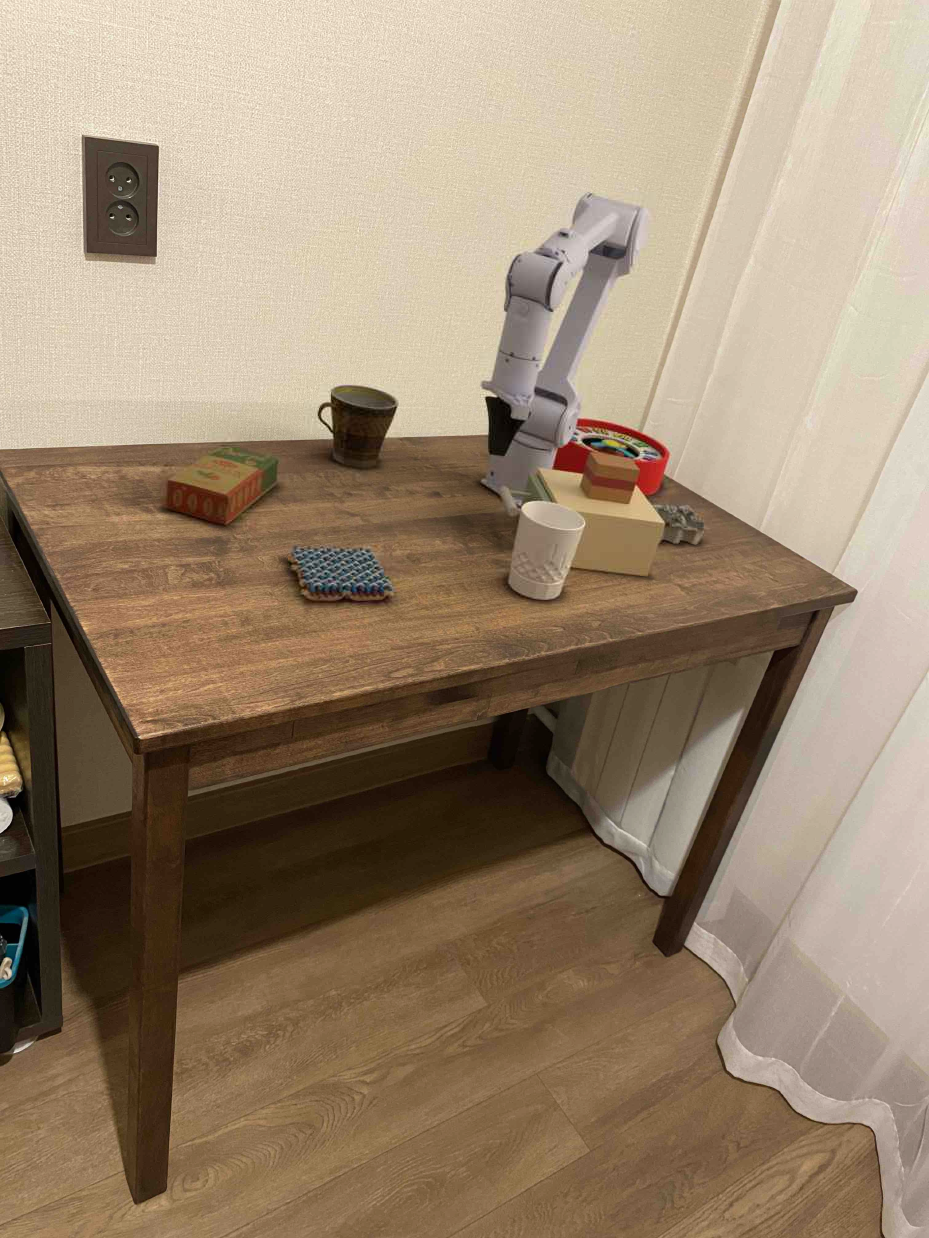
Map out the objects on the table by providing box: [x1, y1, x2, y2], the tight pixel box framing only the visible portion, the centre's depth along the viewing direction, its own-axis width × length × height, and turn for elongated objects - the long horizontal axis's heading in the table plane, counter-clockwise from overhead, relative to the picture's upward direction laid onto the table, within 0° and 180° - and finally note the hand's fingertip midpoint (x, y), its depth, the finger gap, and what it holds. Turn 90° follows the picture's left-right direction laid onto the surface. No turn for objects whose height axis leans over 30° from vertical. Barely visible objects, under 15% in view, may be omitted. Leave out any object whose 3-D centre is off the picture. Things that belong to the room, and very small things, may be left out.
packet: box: [580, 452, 640, 504], centre depth 123 cm, size 6×4×5 cm
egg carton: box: [651, 503, 710, 545], centre depth 138 cm, size 11×8×4 cm
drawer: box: [498, 474, 553, 518], centre depth 126 cm, size 18×13×6 cm
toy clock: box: [552, 417, 671, 496], centre depth 157 cm, size 20×6×20 cm
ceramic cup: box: [317, 384, 399, 469], centre depth 136 cm, size 13×10×10 cm
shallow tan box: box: [536, 468, 665, 577], centre depth 127 cm, size 15×14×8 cm
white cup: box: [507, 501, 585, 601], centre depth 112 cm, size 8×8×10 cm
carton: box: [164, 443, 279, 526], centre depth 117 cm, size 8×16×4 cm, turn 168°
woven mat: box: [287, 545, 395, 602], centre depth 105 cm, size 10×11×2 cm
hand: (496, 453), depth 123 cm, fingers closed
